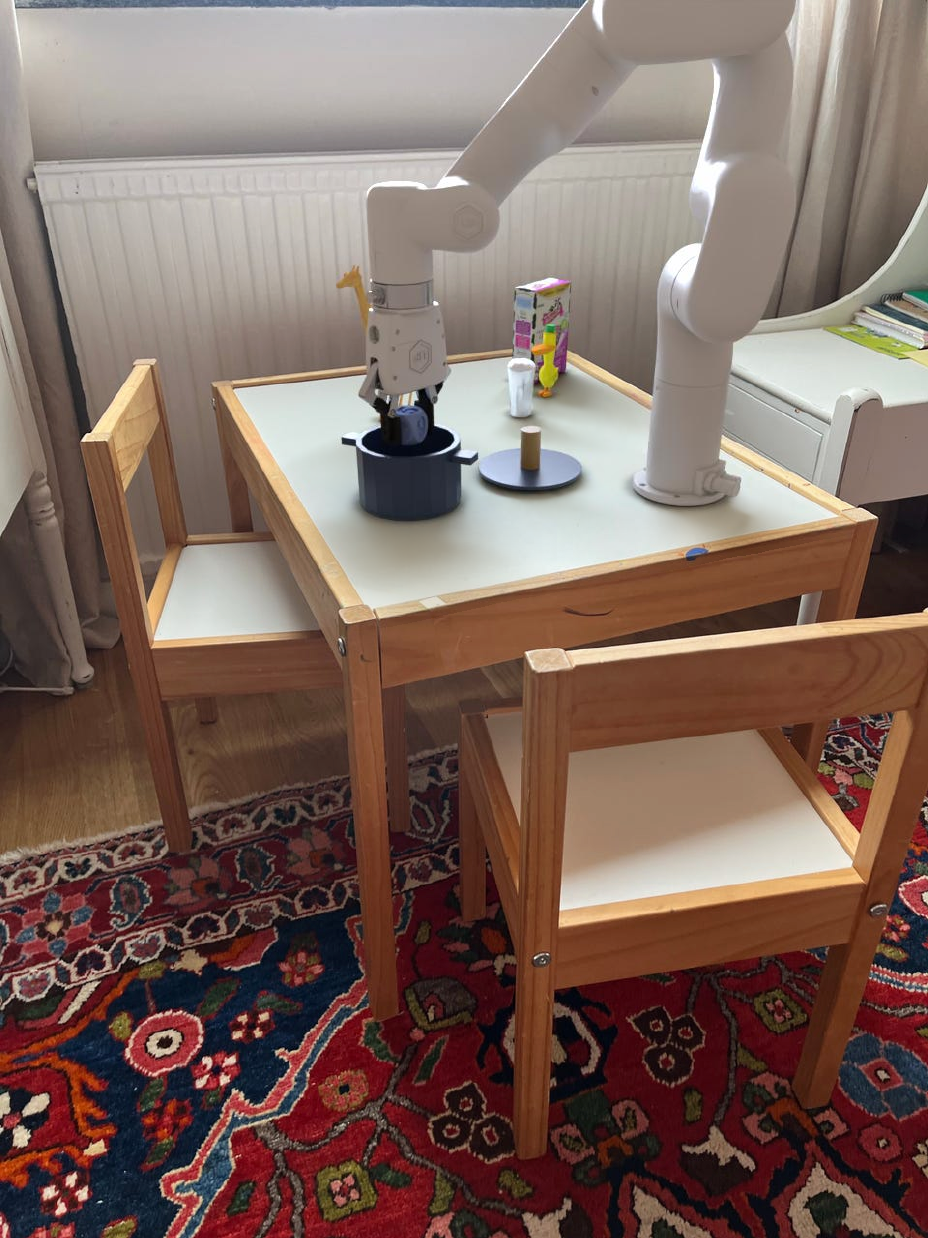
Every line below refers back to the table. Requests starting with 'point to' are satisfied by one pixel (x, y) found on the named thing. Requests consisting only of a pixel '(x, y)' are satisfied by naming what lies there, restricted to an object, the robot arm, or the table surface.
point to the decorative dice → (412, 424)
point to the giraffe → (361, 302)
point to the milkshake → (521, 386)
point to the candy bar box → (541, 320)
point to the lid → (530, 465)
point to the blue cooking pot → (409, 474)
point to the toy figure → (547, 359)
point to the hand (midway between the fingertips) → (408, 436)
